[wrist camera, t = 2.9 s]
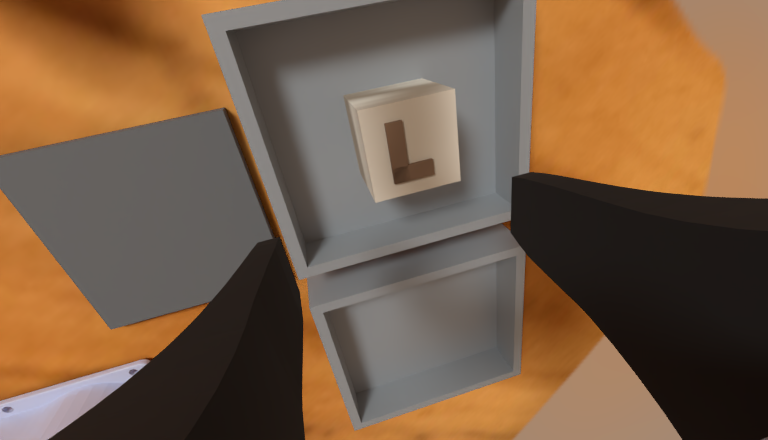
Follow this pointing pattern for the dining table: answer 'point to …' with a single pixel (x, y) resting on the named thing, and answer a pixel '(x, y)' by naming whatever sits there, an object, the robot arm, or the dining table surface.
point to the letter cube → (405, 137)
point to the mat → (142, 212)
